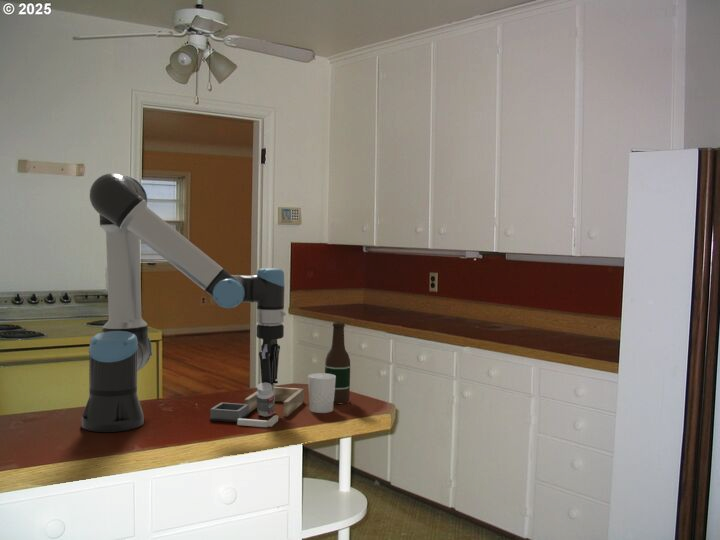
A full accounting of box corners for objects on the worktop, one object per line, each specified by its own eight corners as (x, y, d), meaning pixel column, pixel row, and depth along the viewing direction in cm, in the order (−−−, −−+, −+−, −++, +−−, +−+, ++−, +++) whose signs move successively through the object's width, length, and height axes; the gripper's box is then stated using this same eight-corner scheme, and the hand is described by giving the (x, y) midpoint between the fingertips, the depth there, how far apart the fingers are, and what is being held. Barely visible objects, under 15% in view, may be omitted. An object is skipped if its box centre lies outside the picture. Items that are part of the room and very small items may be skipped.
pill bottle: (272, 417, 199) (270, 392, 196) (255, 416, 200) (253, 390, 196) (276, 407, 203) (275, 382, 200) (260, 406, 204) (258, 380, 201)
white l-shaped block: (237, 425, 191) (237, 419, 191) (246, 418, 197) (246, 412, 197) (270, 427, 189) (270, 421, 189) (278, 420, 196) (278, 415, 196)
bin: (210, 420, 195) (210, 409, 194) (220, 413, 202) (221, 402, 202) (238, 422, 193) (238, 411, 193) (248, 415, 201) (248, 404, 201)
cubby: (244, 413, 203) (244, 399, 202) (263, 399, 220) (264, 386, 220) (287, 416, 201) (287, 402, 200) (303, 402, 218) (303, 388, 218)
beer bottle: (321, 403, 217) (323, 323, 216) (326, 397, 225) (328, 320, 223) (346, 405, 216) (349, 324, 214) (351, 399, 223) (353, 321, 222)
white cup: (340, 409, 210) (341, 375, 209) (324, 415, 203) (325, 379, 203) (318, 405, 214) (318, 372, 214) (301, 410, 208) (302, 376, 207)
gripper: (276, 327, 196) (275, 413, 197) (289, 321, 209) (288, 402, 210) (250, 326, 197) (249, 412, 199) (264, 320, 210) (262, 400, 211)
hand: (269, 407), depth 204 cm, fingers closed
